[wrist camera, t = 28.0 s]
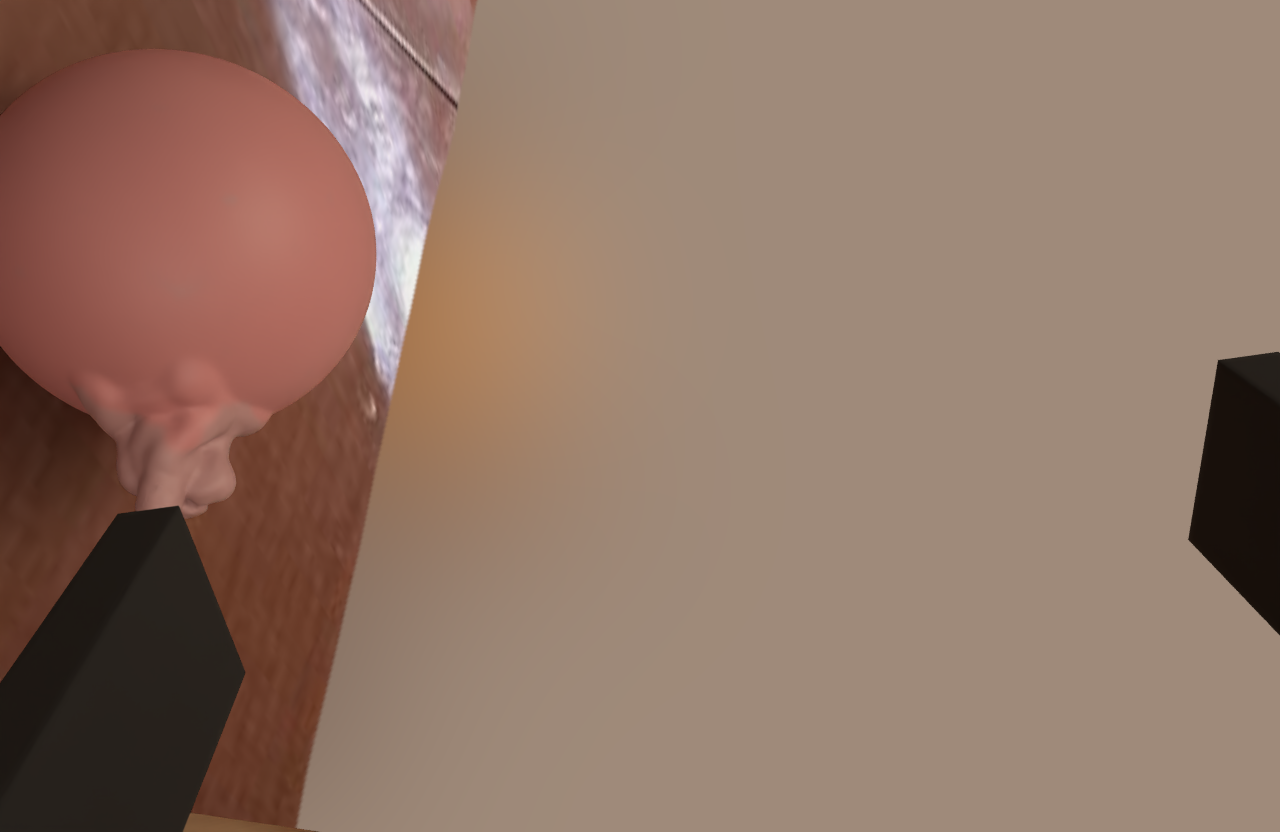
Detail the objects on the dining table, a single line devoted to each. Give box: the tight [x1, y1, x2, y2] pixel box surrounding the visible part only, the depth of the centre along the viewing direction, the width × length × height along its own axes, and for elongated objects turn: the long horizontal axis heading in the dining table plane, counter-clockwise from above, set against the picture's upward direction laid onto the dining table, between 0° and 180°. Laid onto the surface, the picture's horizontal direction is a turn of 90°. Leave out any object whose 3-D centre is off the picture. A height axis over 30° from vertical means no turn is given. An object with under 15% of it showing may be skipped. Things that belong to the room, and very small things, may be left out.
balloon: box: [0, 49, 376, 518], centre depth 41 cm, size 15×20×15 cm
